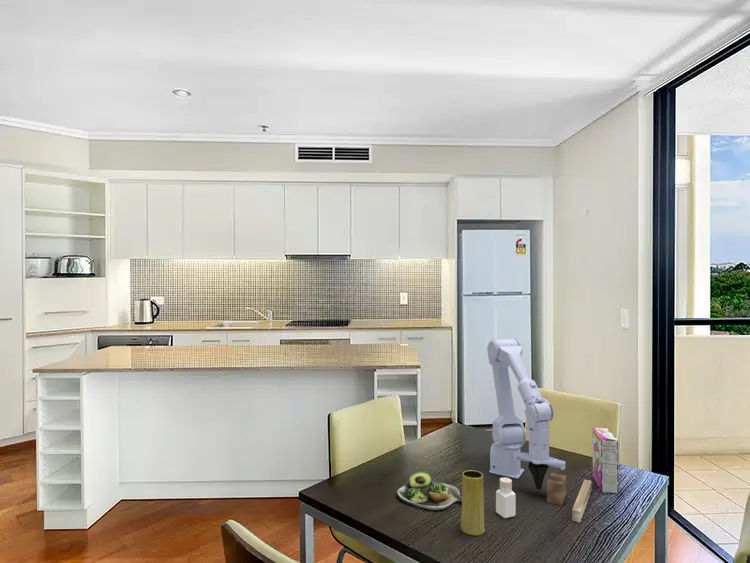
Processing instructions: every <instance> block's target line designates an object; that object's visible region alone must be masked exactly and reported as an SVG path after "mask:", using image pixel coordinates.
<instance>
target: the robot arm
mask: <svg viewBox="0 0 750 563" xmlns="http://www.w3.org/2000/svg"><path fill="white" fill-rule="evenodd" d="M521 343H522V342H520V340H519V339H518V338H508V339H507V338H504V339H503V338H502V339H501V338H500V339H493V338H492V339H490V340H489V342H488V345H487V346H486V350H487V357H488V362H489V365H491V366H492V376H493V381H494V389H495V394H496V395H495V396H496V403H497V409H498V410H497V411H498V416H497V417H496V418H495V420H494V421H493V422H492V431H491V436H492V440H493V442H492V444H491V447H490V451H489V453H490V454H489V458H490V459H489V464H490V465H489V473H491V474H495V475H499V476H504V477H506V478H511V479H512V478H513V479H517V480H518V479H519V478H520V477H521V476H522V474H523V473H524V471H525V469H524V468H521V464H522V463H521V462H526V463H527V462H528V465H527V467H528V469H529V472H530V473H531V476H532V479H533V482H534V486H535V489H536V490H540V491H541V490H542V488H543V482H544V479H545V476H546V473H547V471H548V469H549V468H551V467H552V468H557V469H560V470H562V471H564V470H565V469H566V461H565V460H561V459H558V458H555V457H552V456H550V421H552V420H553V419H554V414H555V412H554V408H553V406H552V404H551V402H549V401H548V400H547V399H546V398H545V397H543V395H542V392H541V391H540V389H539V387H538V384H537V382H536V381H535V380H534V379H530V375H529V374H528V370H527V368H526V366H525V363H524V361H523V357H522V355H523V347H522V344H521ZM509 368H510V370H511V371H512V373H513V374H514V376H515V378H516V380H517V381H518V385H517V390H518V392H519V395H520V397H521V399H522V401H523V403H524V405H525V409H524V415H525V418H526V425H527V427H528V434H527V431H526V428H525V425H524V422H523V419H521V418H520V417H518V416H517V415H516V412H515V406H514V399H513V393H512V386H511V380H510V372H509ZM527 435H528V452H521V448H522V447H523V446H524V445H523V444H525V443H526V441H527Z"/></svg>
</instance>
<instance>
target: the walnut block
mask: <svg viewBox="0 0 750 563" xmlns="http://www.w3.org/2000/svg"><path fill="white" fill-rule="evenodd" d="M566 497H567V475H563V474H559V473H554V472H551V473H550V476H549V477H548V479H547V480H546V503H550V504H554V505H557V506H562V505H563V503H564V501H565V499H566Z"/></svg>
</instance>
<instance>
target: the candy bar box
mask: <svg viewBox="0 0 750 563" xmlns="http://www.w3.org/2000/svg"><path fill="white" fill-rule="evenodd" d="M591 429H592V479H593V480H594V482H595V483H596V484H597V487H598V488H599V490H600V491H601V493H603V494H604V493H605V494H614V495H615V494H619V440H618V438H617V437H616V436H615V435H614V434H613V433H612V432H611V430H610V429H609V428H608V427H607V428H605V427H592V428H591Z"/></svg>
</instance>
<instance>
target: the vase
mask: <svg viewBox="0 0 750 563" xmlns="http://www.w3.org/2000/svg"><path fill="white" fill-rule="evenodd" d="M461 477H462V478H461V480H462V482H461V484H462V485H461V486H462V487H461V490H462V492H461V496H462V501H461V513H460V514H461V515H460V516H461V518H460V530H461V532H463V533H464V534H466V535H469V536H481V535H482V534H484V533H485V531H486V528H485V509H484V508H485V500H484V494H485V493H484V474H483V473H482V472H481V471H478V470H473V469H468V470H464V471H463V472H462V476H461Z"/></svg>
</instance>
